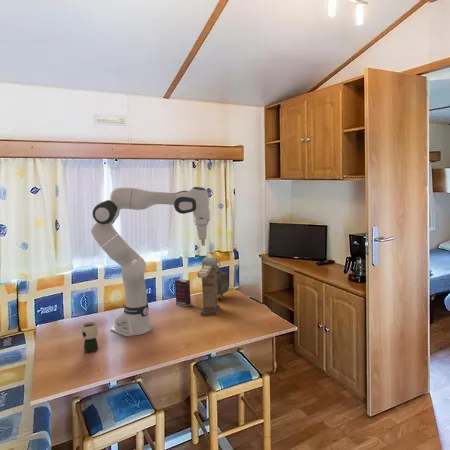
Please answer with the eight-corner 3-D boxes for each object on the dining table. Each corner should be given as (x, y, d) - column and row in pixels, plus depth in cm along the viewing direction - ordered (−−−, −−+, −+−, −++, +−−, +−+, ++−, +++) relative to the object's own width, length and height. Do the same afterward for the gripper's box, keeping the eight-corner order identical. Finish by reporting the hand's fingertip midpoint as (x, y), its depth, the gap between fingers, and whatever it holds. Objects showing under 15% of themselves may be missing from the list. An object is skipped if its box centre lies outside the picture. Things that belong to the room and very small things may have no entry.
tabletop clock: (222, 294, 256) (220, 258, 253) (230, 297, 249) (229, 260, 245) (204, 299, 247) (203, 262, 244) (213, 303, 240) (211, 264, 237)
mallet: (209, 277, 203) (209, 268, 202) (195, 277, 204) (194, 268, 203) (217, 265, 229) (217, 257, 228) (204, 265, 230) (204, 257, 230)
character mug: (81, 348, 182) (78, 322, 180) (96, 344, 186) (94, 319, 184) (86, 356, 173) (83, 329, 171) (101, 352, 176) (99, 326, 175)
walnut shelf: (215, 317, 215) (213, 273, 211) (199, 317, 216) (197, 273, 213) (219, 306, 232) (218, 265, 229) (205, 306, 234) (203, 265, 230)
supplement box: (191, 304, 239) (190, 280, 237) (186, 306, 235) (185, 282, 233) (180, 302, 243) (179, 278, 241) (175, 304, 239) (174, 280, 237)
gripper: (196, 213, 207) (198, 237, 211) (194, 223, 188) (197, 249, 191) (207, 212, 207) (209, 236, 211) (207, 222, 188) (209, 248, 191)
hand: (203, 242), depth 201 cm, fingers open, 8 cm apart
